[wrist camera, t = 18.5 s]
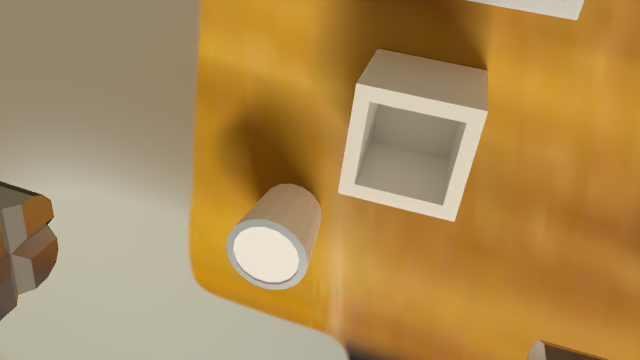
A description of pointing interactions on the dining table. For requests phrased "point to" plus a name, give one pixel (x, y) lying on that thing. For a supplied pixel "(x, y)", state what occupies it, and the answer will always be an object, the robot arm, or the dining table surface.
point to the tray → (542, 6)
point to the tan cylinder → (276, 237)
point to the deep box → (414, 133)
